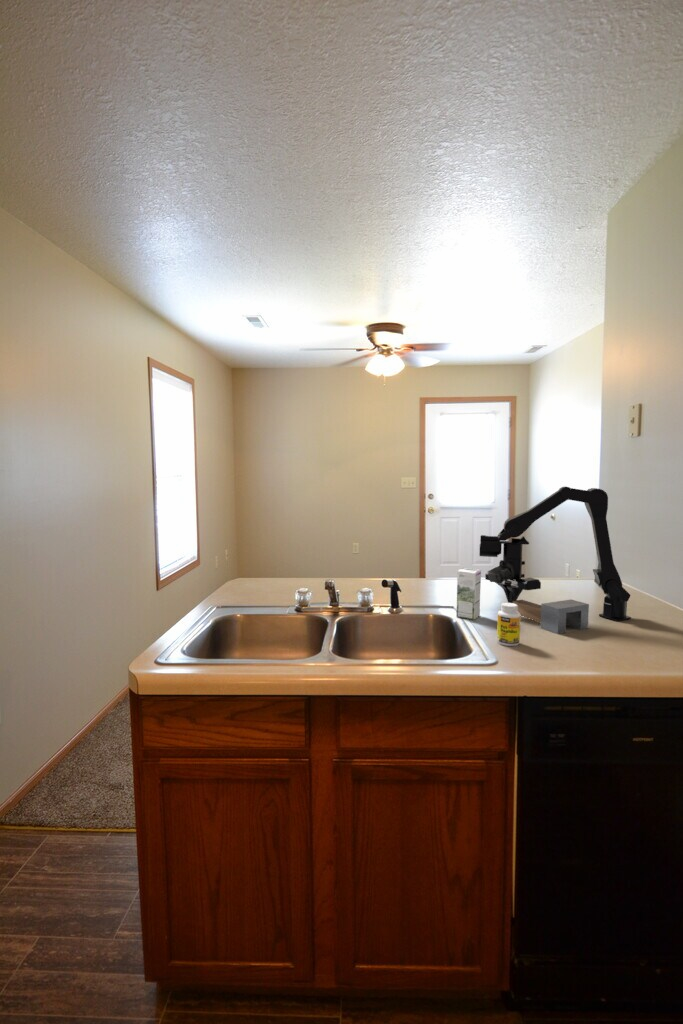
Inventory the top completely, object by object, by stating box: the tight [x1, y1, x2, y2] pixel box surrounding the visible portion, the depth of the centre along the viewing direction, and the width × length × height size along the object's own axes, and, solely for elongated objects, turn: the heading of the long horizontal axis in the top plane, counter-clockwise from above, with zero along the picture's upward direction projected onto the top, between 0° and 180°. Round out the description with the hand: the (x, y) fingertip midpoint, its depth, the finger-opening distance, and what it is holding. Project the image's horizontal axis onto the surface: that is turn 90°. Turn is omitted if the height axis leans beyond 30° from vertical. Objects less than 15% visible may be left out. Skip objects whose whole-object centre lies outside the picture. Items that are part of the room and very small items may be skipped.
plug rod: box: [513, 599, 541, 623], centre depth 158 cm, size 4×16×4 cm, turn 26°
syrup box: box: [456, 567, 482, 620], centre depth 160 cm, size 6×6×14 cm
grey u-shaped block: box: [540, 599, 590, 635], centre depth 149 cm, size 12×6×7 cm, turn 116°
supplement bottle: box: [496, 602, 521, 647], centre depth 135 cm, size 6×6×10 cm
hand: (511, 606), depth 167 cm, fingers closed
